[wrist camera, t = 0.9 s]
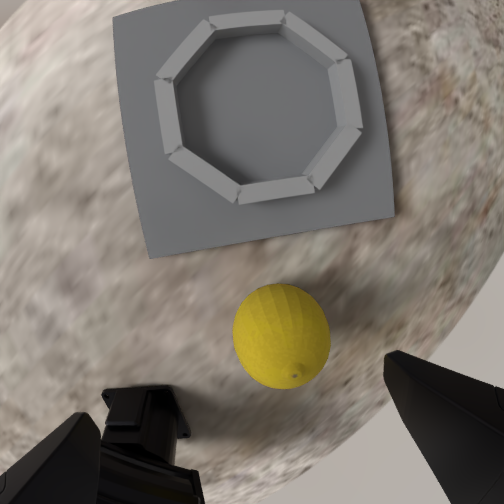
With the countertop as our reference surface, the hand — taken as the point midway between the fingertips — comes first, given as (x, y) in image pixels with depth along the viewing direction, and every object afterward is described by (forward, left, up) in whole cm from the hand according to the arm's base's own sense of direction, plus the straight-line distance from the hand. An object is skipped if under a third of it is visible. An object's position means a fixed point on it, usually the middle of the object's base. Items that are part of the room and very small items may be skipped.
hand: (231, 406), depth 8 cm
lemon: (-4, -3, -13) cm, 14 cm away
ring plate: (+9, -4, -13) cm, 16 cm away
